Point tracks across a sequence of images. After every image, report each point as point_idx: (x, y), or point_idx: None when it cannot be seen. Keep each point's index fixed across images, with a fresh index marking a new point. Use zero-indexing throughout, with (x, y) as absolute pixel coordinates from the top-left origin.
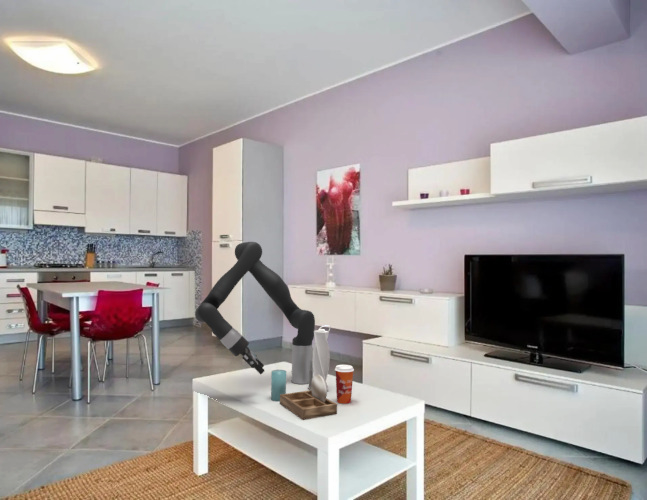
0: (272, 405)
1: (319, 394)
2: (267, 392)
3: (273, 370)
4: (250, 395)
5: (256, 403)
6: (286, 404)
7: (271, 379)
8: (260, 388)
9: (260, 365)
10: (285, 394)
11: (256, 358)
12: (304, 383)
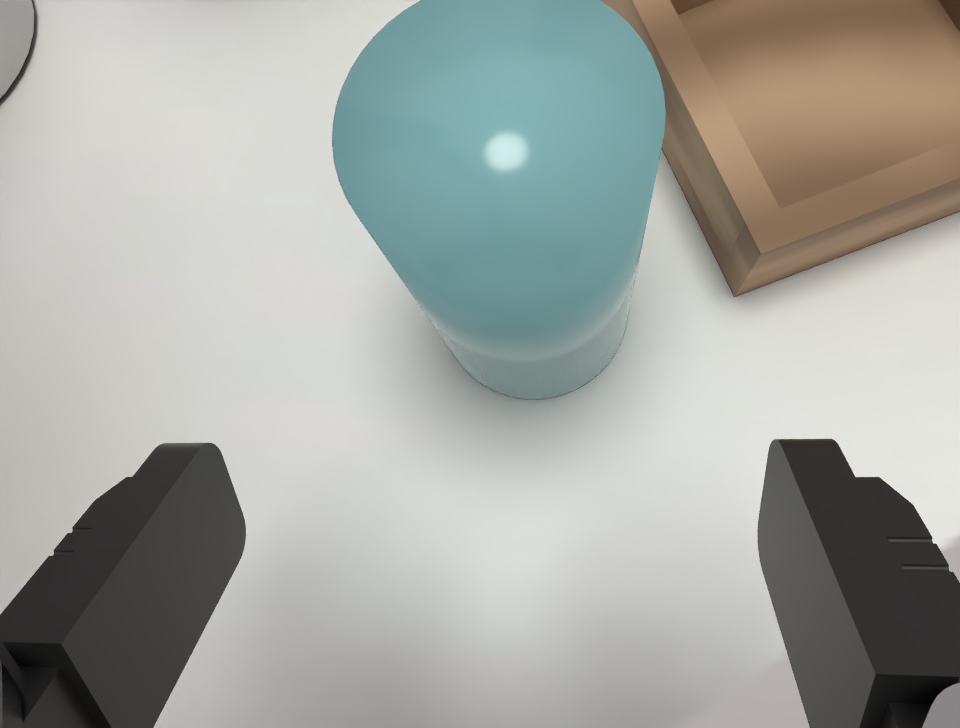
0: (805, 387)
1: None
2: (257, 435)
3: (393, 233)
4: (349, 669)
5: (713, 596)
6: (942, 205)
7: (526, 326)
8: (71, 520)
9: (194, 541)
10: (759, 181)
11: (16, 725)
12: (30, 16)
